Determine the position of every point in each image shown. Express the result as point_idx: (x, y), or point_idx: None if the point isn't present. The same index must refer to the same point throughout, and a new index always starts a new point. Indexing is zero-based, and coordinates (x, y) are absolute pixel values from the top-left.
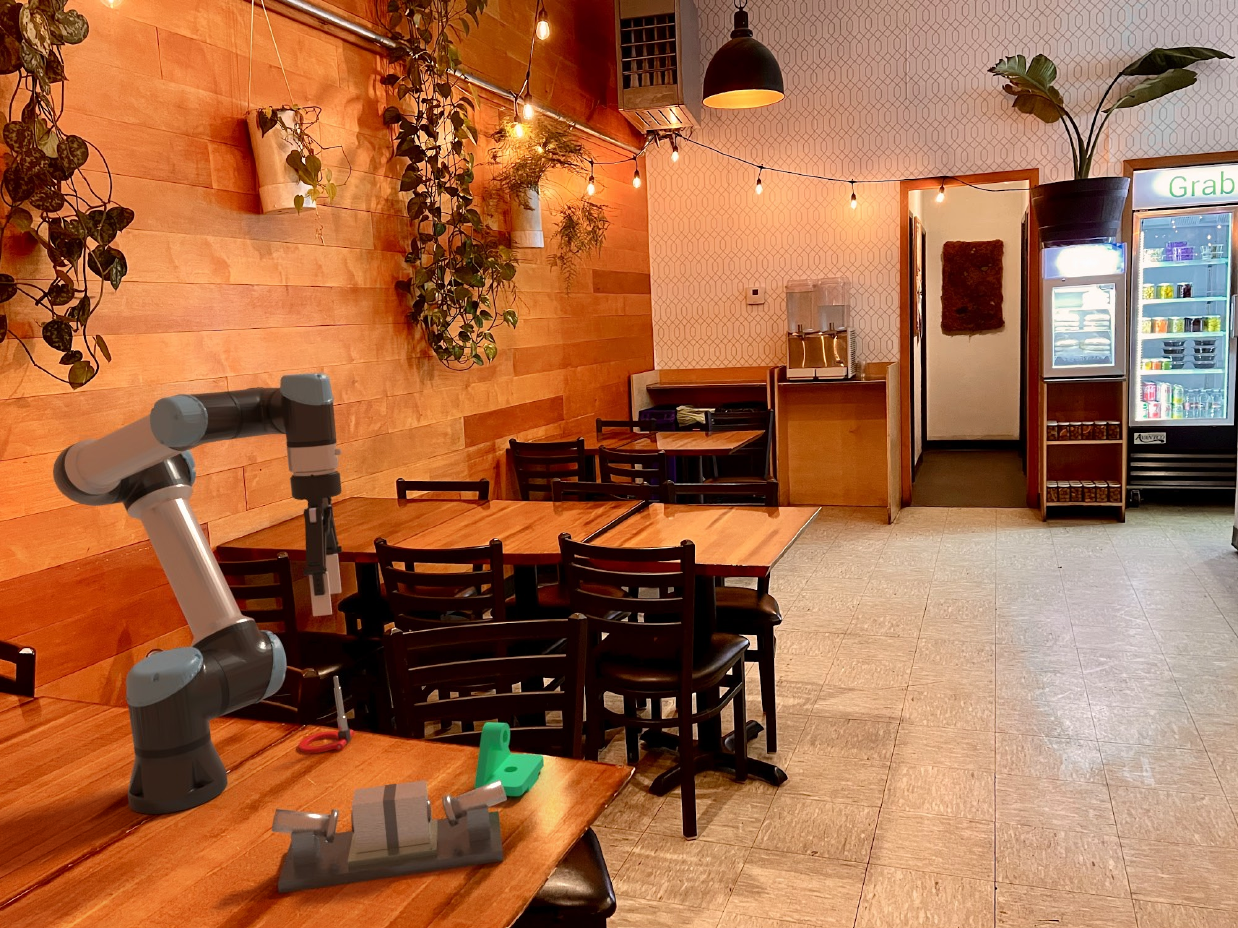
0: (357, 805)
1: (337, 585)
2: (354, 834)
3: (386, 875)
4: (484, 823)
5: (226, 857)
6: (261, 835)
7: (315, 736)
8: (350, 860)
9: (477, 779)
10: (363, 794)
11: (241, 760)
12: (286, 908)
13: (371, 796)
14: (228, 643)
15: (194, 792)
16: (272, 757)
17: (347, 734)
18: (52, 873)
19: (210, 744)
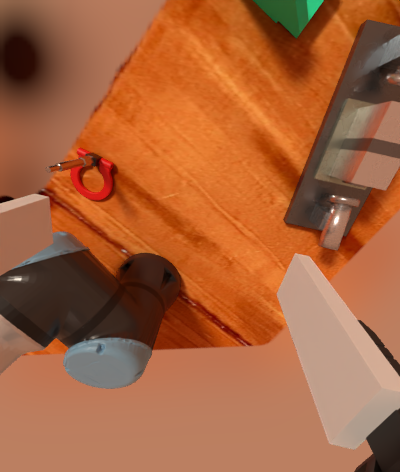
0: (388, 184)
1: (29, 212)
2: (322, 178)
3: None
4: None
5: (267, 258)
6: (248, 237)
7: (79, 184)
8: (365, 187)
9: (301, 26)
10: (370, 176)
11: (106, 241)
12: (366, 230)
13: (381, 169)
14: (53, 319)
15: (175, 277)
16: (108, 220)
17: (95, 156)
18: (228, 333)
19: (141, 280)
